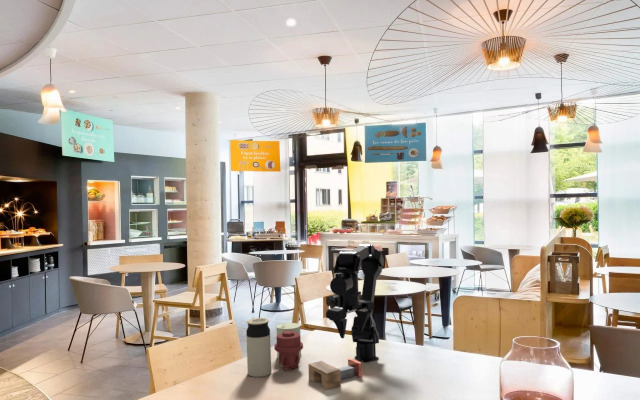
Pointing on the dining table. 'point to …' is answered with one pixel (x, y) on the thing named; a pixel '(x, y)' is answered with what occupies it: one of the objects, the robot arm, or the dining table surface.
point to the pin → (351, 369)
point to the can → (288, 327)
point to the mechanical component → (288, 349)
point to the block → (324, 374)
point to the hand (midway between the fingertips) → (351, 335)
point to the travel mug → (258, 347)
